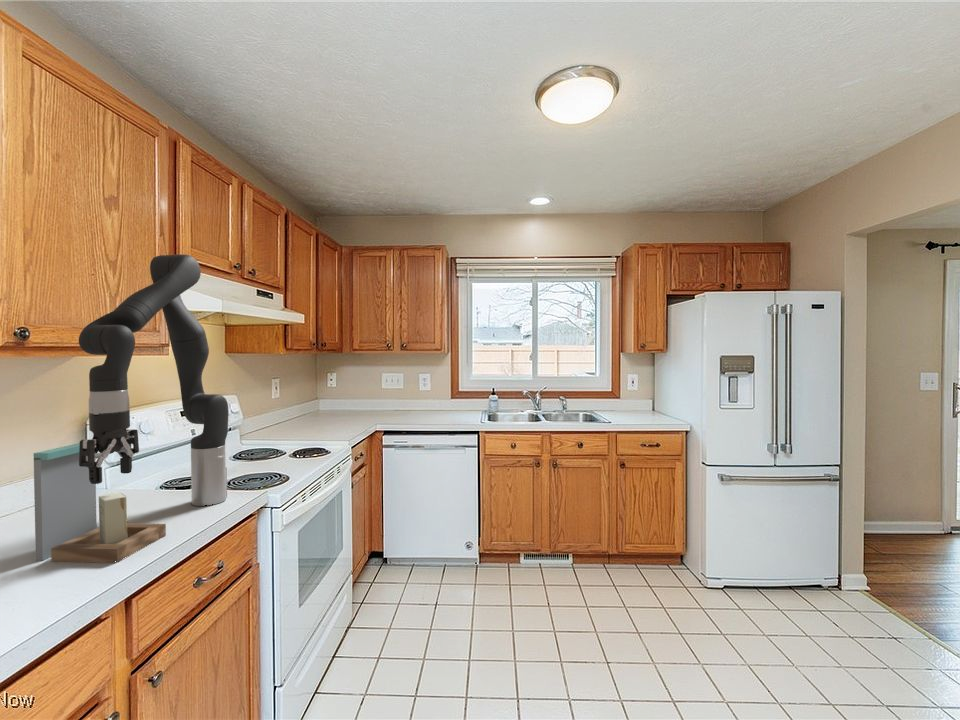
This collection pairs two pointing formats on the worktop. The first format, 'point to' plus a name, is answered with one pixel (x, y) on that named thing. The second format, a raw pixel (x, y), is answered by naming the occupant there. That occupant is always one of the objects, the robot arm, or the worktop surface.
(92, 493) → the board
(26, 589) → the worktop surface
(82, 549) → the socket block
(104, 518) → the skincare box
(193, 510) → the worktop surface
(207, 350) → the robot arm
